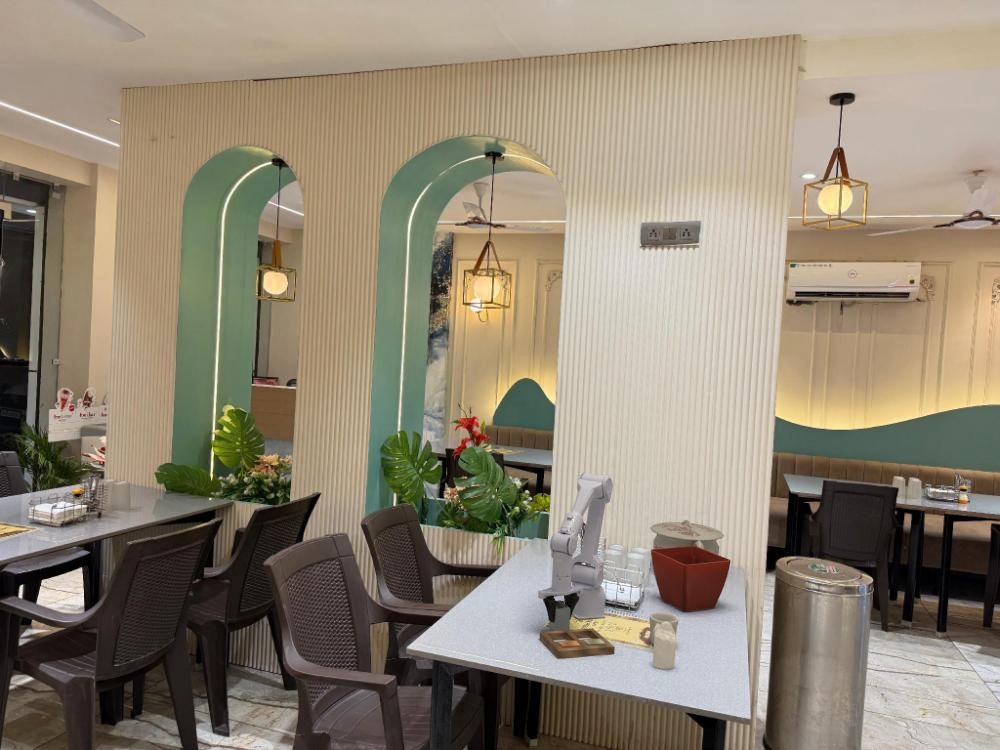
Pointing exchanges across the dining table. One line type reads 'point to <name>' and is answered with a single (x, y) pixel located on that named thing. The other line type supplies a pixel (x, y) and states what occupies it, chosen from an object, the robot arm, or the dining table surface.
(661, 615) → the cup
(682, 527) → the chamber pot
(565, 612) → the plug
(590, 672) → the dining table surface
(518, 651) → the dining table surface
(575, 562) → the robot arm
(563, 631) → the socket board
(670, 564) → the plant pot
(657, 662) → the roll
